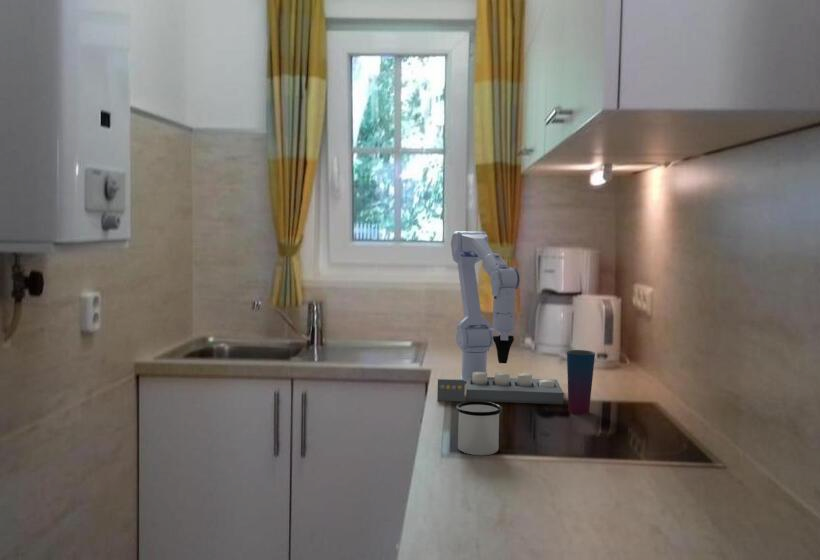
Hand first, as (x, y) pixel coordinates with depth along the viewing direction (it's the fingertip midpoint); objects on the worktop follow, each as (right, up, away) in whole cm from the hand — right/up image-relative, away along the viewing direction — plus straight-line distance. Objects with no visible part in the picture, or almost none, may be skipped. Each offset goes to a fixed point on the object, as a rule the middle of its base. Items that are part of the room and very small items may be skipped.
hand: (502, 362), depth 203 cm
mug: (-11, -13, -47) cm, 50 cm away
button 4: (+12, -8, 0) cm, 14 cm away
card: (-14, -9, -7) cm, 18 cm away
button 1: (-6, -6, +1) cm, 9 cm away
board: (+3, -9, 0) cm, 9 cm away
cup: (+17, -11, -16) cm, 26 cm away
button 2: (0, -6, +1) cm, 7 cm away
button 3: (+6, -7, 0) cm, 9 cm away
